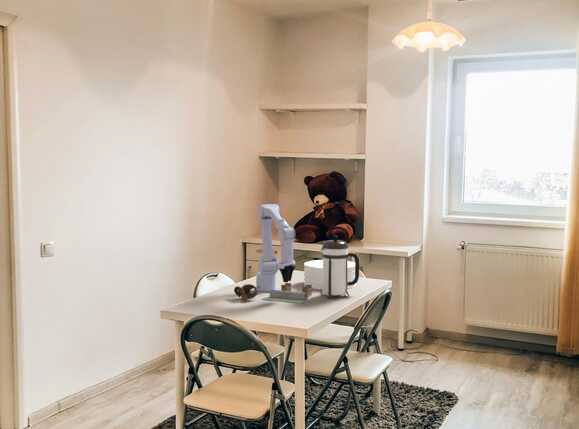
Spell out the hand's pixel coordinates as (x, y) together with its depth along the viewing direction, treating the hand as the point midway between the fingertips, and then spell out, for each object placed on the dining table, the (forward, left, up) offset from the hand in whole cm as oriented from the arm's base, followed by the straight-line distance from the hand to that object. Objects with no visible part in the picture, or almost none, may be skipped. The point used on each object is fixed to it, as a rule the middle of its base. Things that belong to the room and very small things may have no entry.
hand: (287, 281), depth 298 cm
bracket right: (+5, +12, -9) cm, 16 cm away
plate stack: (+7, +43, -9) cm, 45 cm away
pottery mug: (-19, -6, -9) cm, 22 cm away
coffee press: (+19, +18, -9) cm, 28 cm away
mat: (-1, 0, -9) cm, 9 cm away
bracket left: (-6, +12, -9) cm, 16 cm away
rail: (0, +2, -7) cm, 7 cm away
